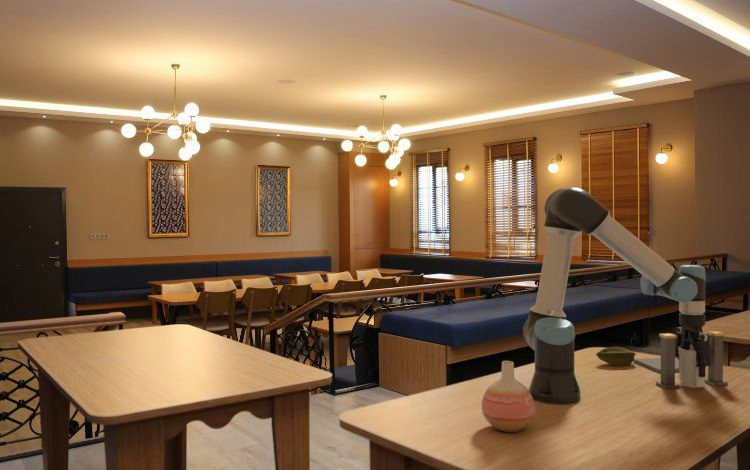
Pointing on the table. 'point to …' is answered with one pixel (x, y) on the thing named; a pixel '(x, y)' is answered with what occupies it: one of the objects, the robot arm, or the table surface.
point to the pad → (654, 363)
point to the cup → (687, 366)
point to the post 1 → (668, 362)
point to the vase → (508, 402)
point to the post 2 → (716, 359)
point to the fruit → (616, 356)
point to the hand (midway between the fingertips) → (691, 383)
